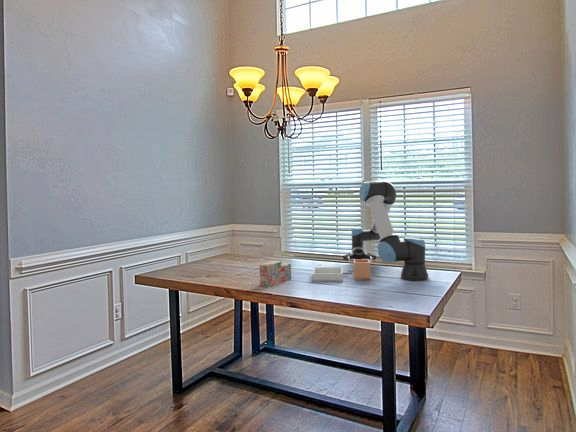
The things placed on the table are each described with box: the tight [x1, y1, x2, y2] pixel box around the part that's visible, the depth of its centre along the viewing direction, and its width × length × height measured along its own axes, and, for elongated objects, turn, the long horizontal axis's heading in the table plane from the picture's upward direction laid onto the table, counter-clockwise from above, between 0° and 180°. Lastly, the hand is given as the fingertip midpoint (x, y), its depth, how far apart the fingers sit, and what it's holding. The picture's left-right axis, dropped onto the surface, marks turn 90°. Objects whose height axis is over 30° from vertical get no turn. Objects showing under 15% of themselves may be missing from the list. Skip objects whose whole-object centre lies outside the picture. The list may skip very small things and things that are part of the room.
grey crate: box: [312, 266, 344, 283], centre depth 246 cm, size 17×17×4 cm
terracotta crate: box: [353, 259, 371, 281], centre depth 243 cm, size 9×9×10 cm
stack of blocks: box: [259, 260, 292, 288], centre depth 240 cm, size 21×6×12 cm, turn 143°
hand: (360, 260), depth 253 cm, fingers open, 13 cm apart
